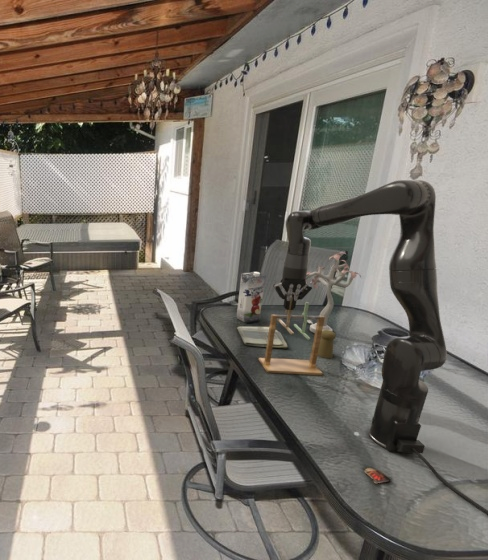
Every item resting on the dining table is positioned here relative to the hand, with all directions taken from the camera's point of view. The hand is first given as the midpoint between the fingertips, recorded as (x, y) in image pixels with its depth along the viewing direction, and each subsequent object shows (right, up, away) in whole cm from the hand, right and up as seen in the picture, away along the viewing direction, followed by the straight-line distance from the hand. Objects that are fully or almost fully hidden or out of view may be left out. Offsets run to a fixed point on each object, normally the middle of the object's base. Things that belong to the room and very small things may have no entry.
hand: (289, 309), depth 134 cm
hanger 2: (+7, -3, +1) cm, 7 cm away
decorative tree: (+39, -14, +40) cm, 57 cm away
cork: (+25, -21, +17) cm, 37 cm away
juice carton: (+10, -10, +53) cm, 55 cm away
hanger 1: (0, -1, 0) cm, 1 cm away
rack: (+5, -24, +8) cm, 26 cm away
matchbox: (-4, -40, -43) cm, 59 cm away
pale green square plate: (+6, -17, +32) cm, 37 cm away
